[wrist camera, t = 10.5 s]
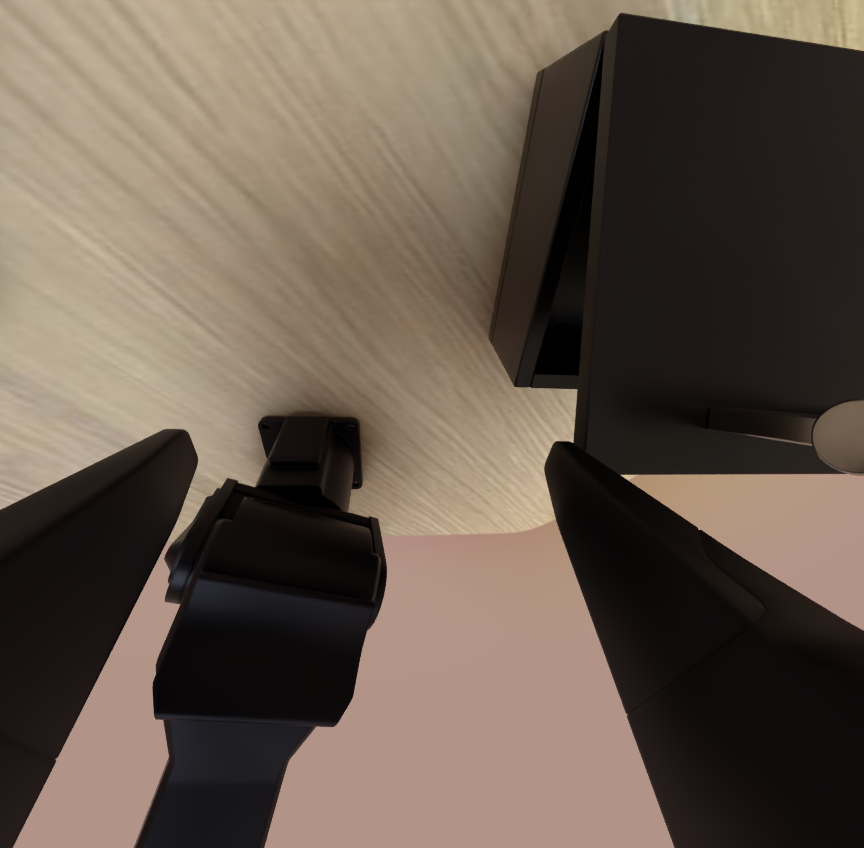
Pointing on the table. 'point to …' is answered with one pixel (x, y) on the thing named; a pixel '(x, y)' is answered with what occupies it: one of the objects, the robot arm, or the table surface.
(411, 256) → the table surface
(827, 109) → the lid
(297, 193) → the table surface
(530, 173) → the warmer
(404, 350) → the table surface
